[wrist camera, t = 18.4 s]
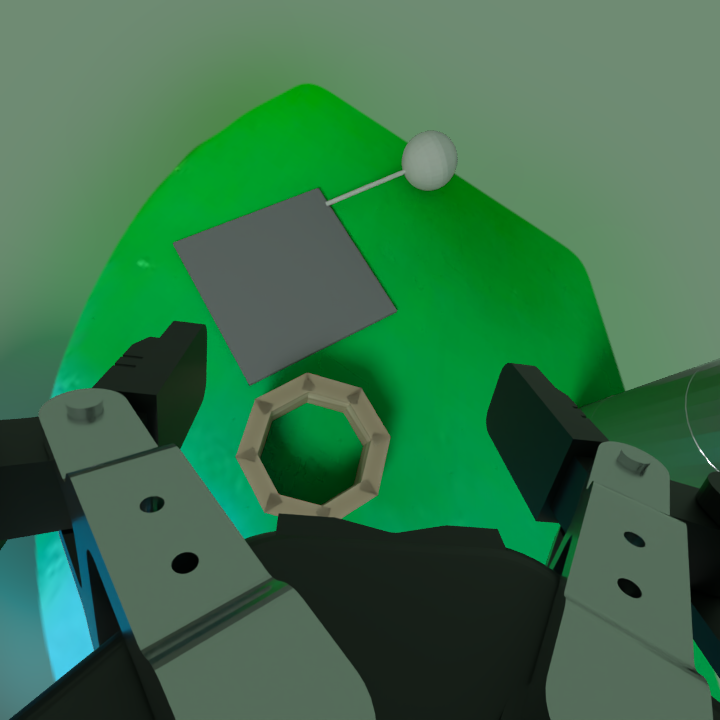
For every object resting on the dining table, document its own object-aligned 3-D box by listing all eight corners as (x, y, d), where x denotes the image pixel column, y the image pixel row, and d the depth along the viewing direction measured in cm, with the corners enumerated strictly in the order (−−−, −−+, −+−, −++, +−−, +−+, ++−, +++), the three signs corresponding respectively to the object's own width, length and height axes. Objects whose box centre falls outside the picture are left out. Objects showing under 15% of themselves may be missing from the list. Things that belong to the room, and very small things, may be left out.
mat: (317, 190, 48) (318, 187, 48) (396, 312, 45) (397, 310, 45) (173, 245, 44) (172, 243, 43) (249, 385, 40) (249, 384, 40)
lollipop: (342, 236, 46) (473, 181, 47) (321, 178, 43) (461, 121, 44) (329, 225, 51) (447, 176, 52) (310, 173, 48) (435, 122, 50)
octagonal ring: (336, 368, 42) (341, 354, 39) (400, 476, 40) (412, 473, 36) (222, 427, 39) (215, 419, 35) (285, 550, 37) (285, 554, 33)
